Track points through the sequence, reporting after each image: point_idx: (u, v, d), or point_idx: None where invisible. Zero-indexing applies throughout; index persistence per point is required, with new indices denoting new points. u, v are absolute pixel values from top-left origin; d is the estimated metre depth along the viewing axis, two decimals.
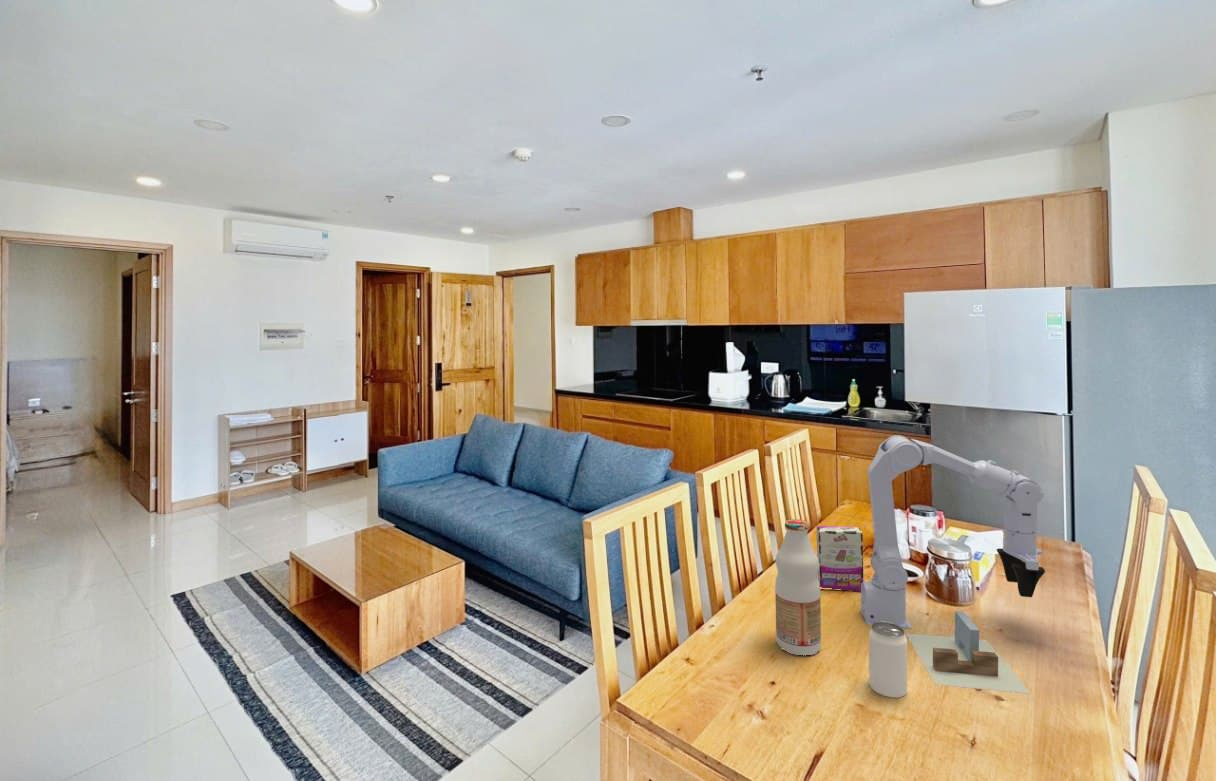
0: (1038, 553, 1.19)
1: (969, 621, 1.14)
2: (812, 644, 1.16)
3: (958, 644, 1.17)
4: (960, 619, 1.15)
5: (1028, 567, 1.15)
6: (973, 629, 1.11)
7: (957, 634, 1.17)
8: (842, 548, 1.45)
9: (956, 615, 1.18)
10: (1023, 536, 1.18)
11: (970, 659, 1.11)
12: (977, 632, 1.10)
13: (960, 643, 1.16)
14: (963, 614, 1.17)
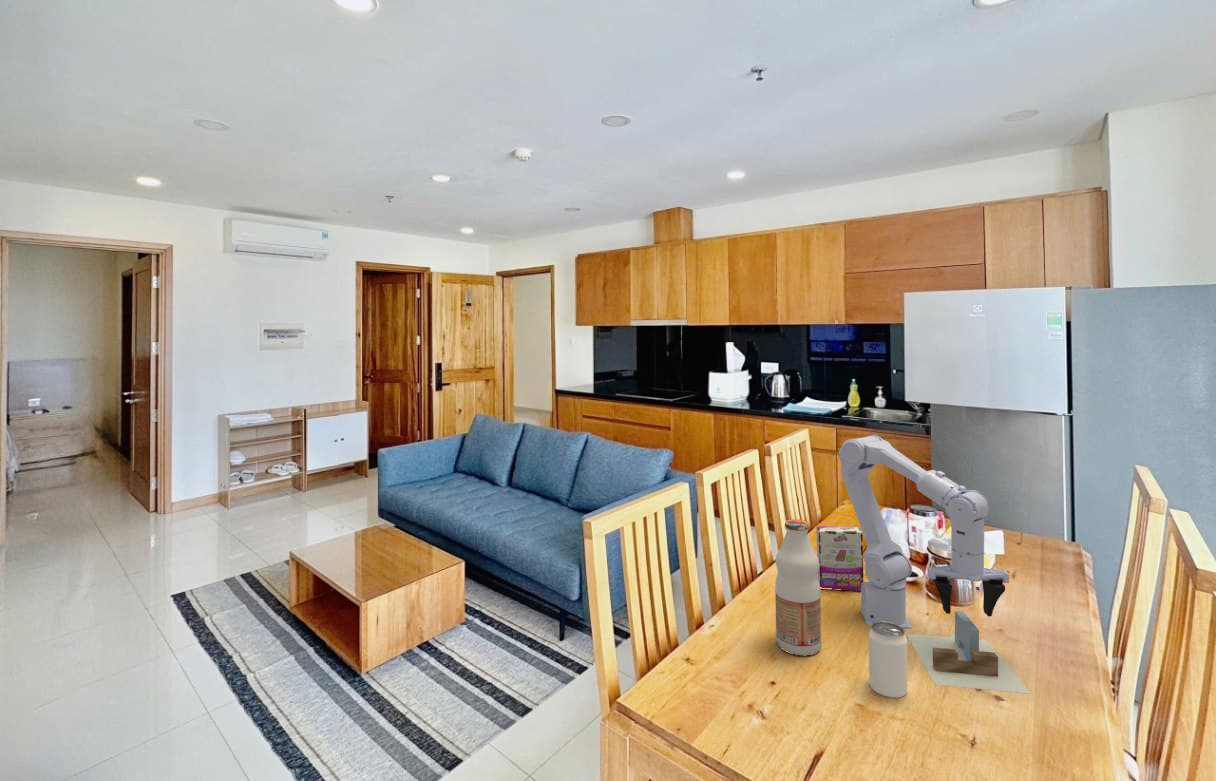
0: (967, 577, 1.11)
1: (969, 621, 1.14)
2: (812, 644, 1.16)
3: (958, 644, 1.17)
4: (960, 619, 1.15)
5: (927, 573, 1.16)
6: (973, 629, 1.11)
7: (957, 634, 1.17)
8: (842, 548, 1.45)
9: (956, 615, 1.18)
10: (951, 551, 1.14)
11: (970, 659, 1.11)
12: (977, 632, 1.10)
13: (960, 643, 1.16)
14: (963, 614, 1.17)
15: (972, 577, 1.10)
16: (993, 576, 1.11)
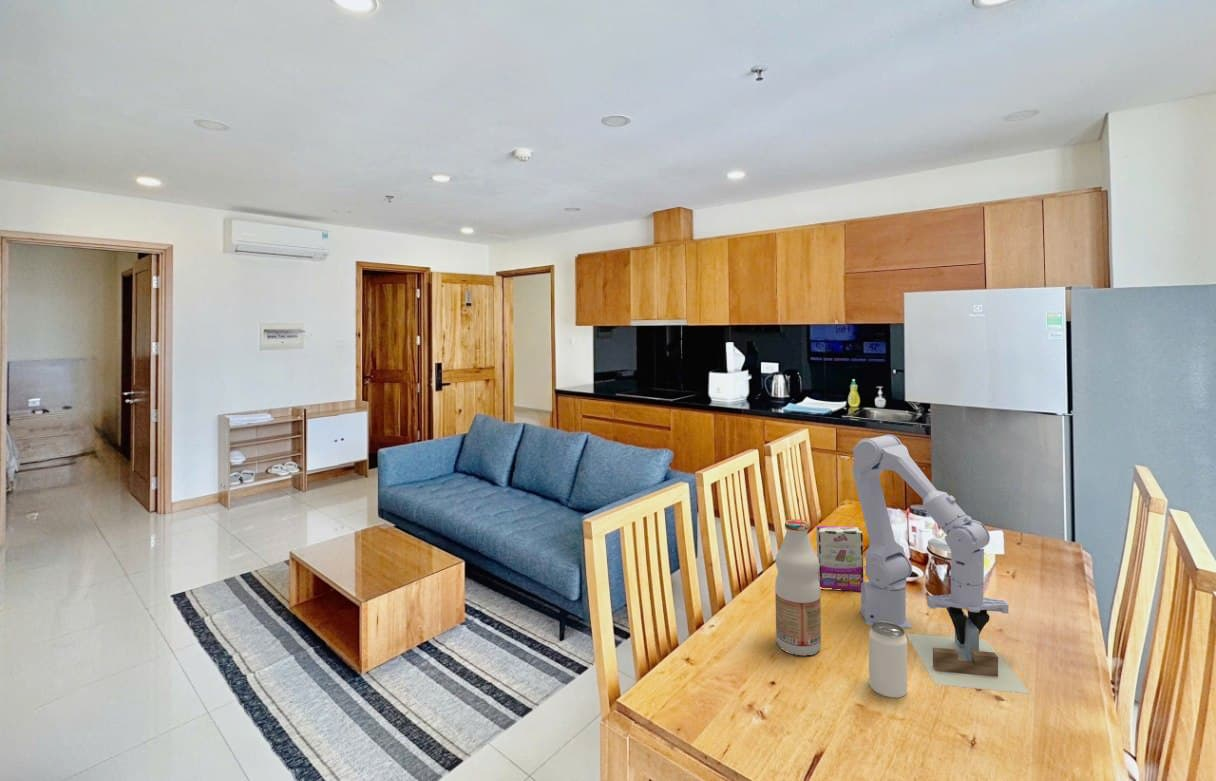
0: (966, 608, 1.11)
1: (969, 621, 1.14)
2: (812, 644, 1.16)
3: (958, 644, 1.17)
4: None
5: (927, 602, 1.17)
6: (973, 629, 1.11)
7: None
8: (842, 548, 1.45)
9: None
10: (951, 581, 1.15)
11: (970, 659, 1.11)
12: (977, 632, 1.10)
13: None
14: None
15: (972, 608, 1.11)
16: (992, 606, 1.11)
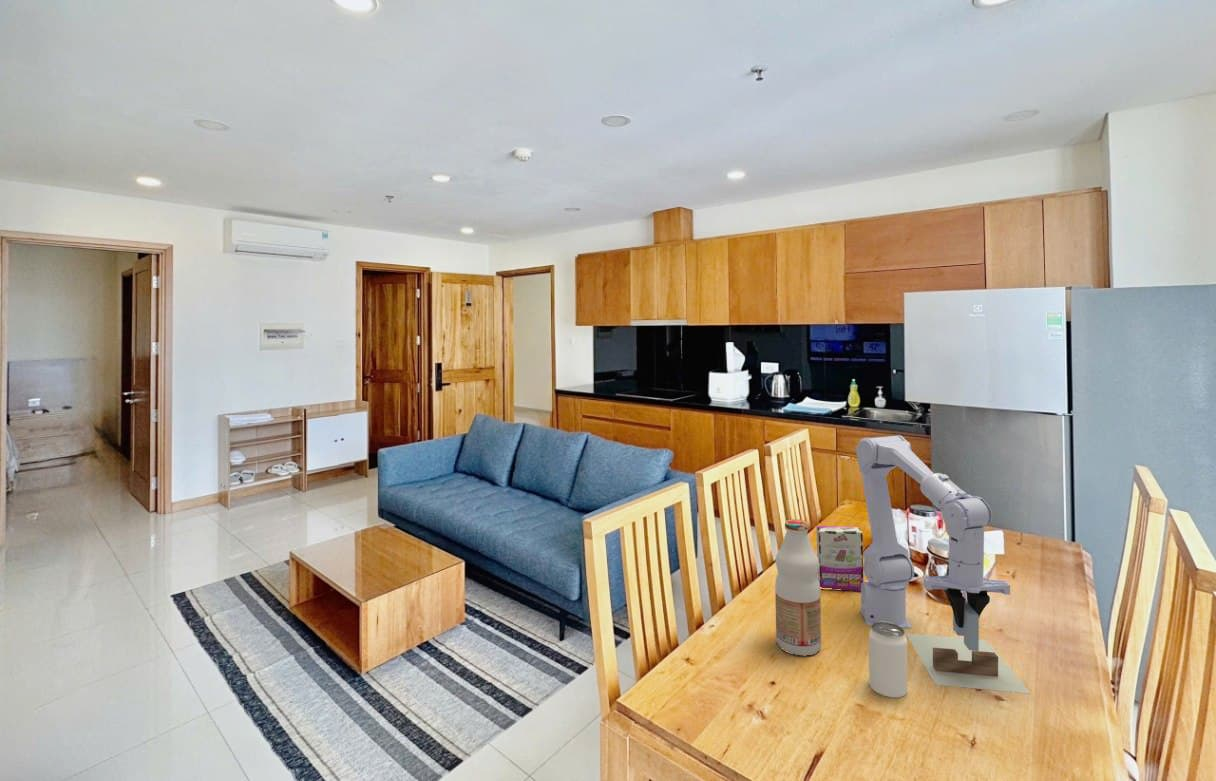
0: (965, 589, 1.04)
1: (968, 606, 1.07)
2: (812, 644, 1.16)
3: (957, 631, 1.10)
4: None
5: None
6: (972, 614, 1.04)
7: None
8: (842, 548, 1.45)
9: None
10: (949, 560, 1.08)
11: (969, 646, 1.04)
12: (976, 618, 1.03)
13: (959, 630, 1.09)
14: None
15: (971, 588, 1.03)
16: (993, 587, 1.04)
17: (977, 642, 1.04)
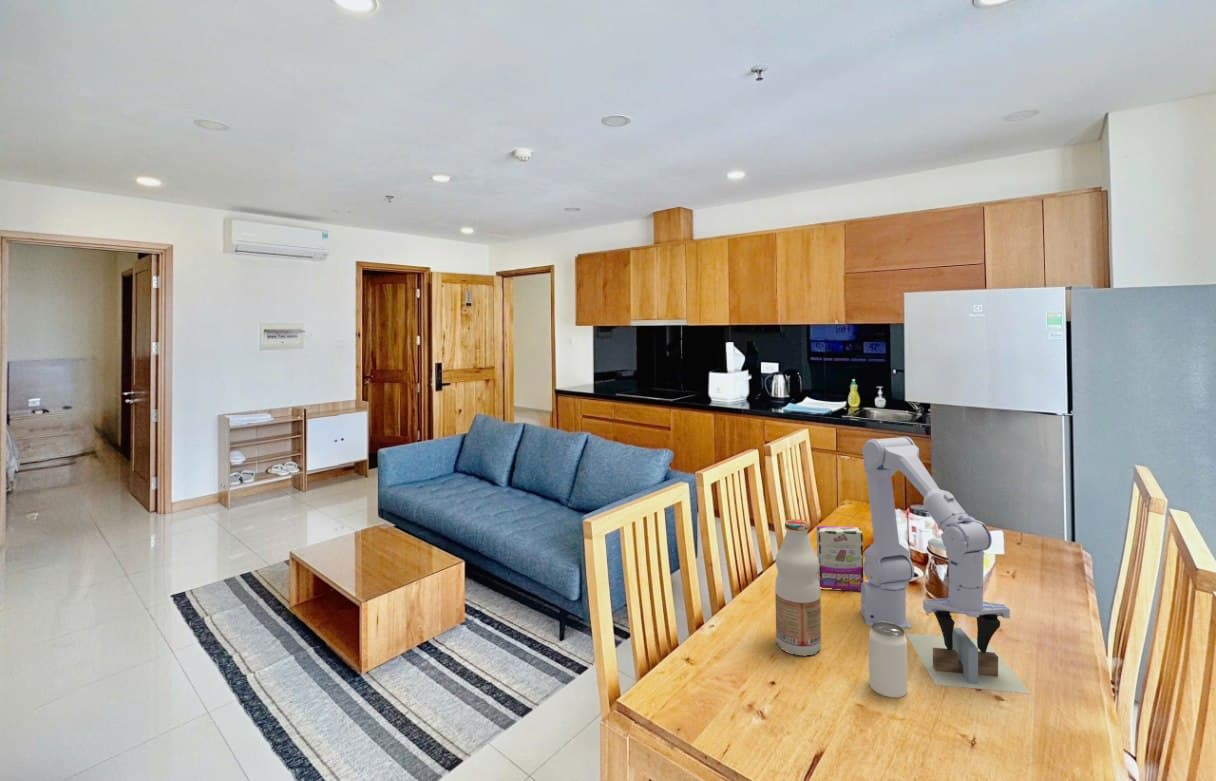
0: (965, 612, 1.04)
1: (967, 639, 1.07)
2: (812, 644, 1.16)
3: None
4: (957, 636, 1.09)
5: (923, 606, 1.10)
6: (972, 648, 1.04)
7: None
8: (842, 548, 1.45)
9: (953, 632, 1.11)
10: (949, 584, 1.08)
11: (969, 679, 1.04)
12: (976, 651, 1.04)
13: None
14: (960, 631, 1.10)
15: (970, 612, 1.04)
16: (993, 611, 1.05)
17: (976, 675, 1.04)
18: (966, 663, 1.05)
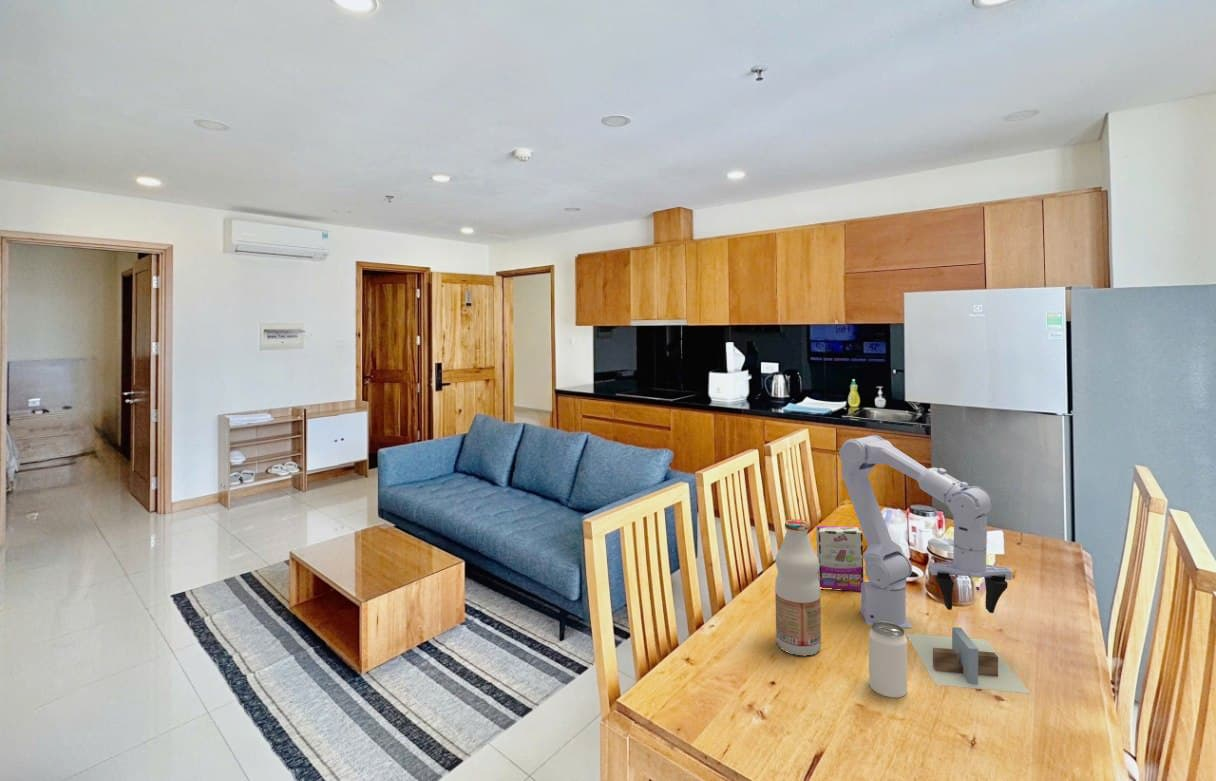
0: (969, 574, 1.10)
1: (967, 639, 1.07)
2: (812, 644, 1.16)
3: None
4: (958, 636, 1.09)
5: (929, 569, 1.16)
6: (972, 648, 1.04)
7: None
8: (842, 548, 1.45)
9: (953, 632, 1.11)
10: None
11: (969, 679, 1.04)
12: (976, 651, 1.04)
13: None
14: (961, 631, 1.10)
15: (974, 573, 1.10)
16: (995, 573, 1.10)
17: (976, 675, 1.04)
18: (966, 663, 1.05)
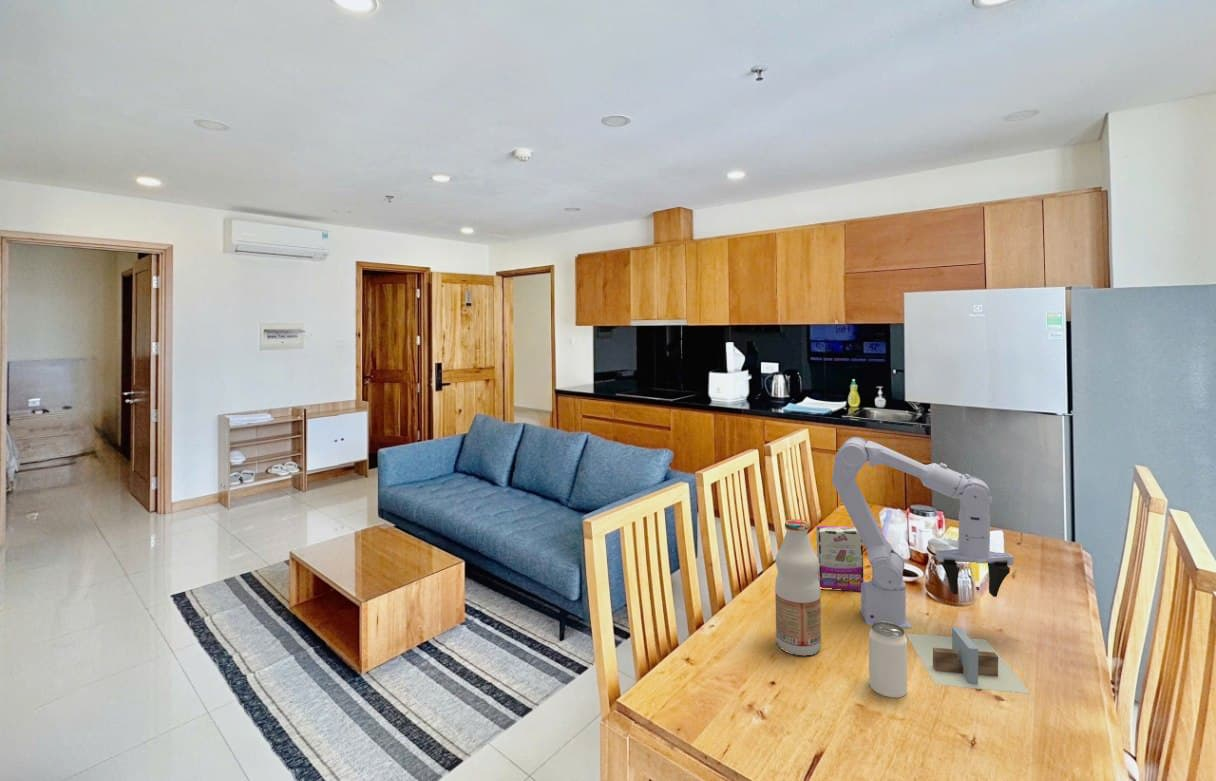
0: (974, 560, 1.17)
1: (967, 639, 1.07)
2: (812, 644, 1.16)
3: None
4: (958, 636, 1.09)
5: None
6: (972, 648, 1.04)
7: None
8: (842, 548, 1.45)
9: (953, 632, 1.11)
10: (959, 535, 1.20)
11: (969, 679, 1.04)
12: (976, 651, 1.04)
13: None
14: (961, 631, 1.10)
15: (978, 559, 1.16)
16: (998, 558, 1.17)
17: (976, 675, 1.04)
18: (966, 663, 1.05)
